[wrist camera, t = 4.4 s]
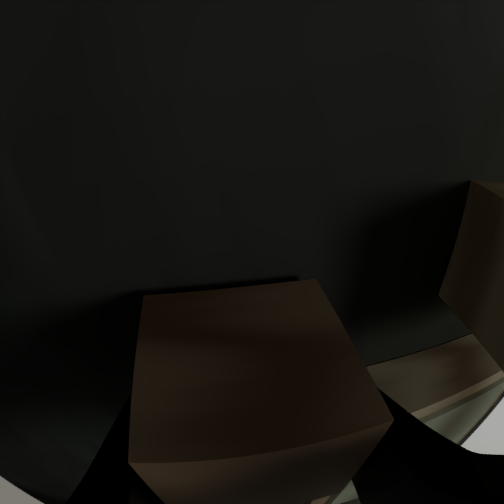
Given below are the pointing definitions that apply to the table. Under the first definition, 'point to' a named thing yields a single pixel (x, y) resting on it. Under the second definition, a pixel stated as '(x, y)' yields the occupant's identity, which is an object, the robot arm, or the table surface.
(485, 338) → the oak block
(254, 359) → the walnut block
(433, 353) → the plinth
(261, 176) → the table surface
